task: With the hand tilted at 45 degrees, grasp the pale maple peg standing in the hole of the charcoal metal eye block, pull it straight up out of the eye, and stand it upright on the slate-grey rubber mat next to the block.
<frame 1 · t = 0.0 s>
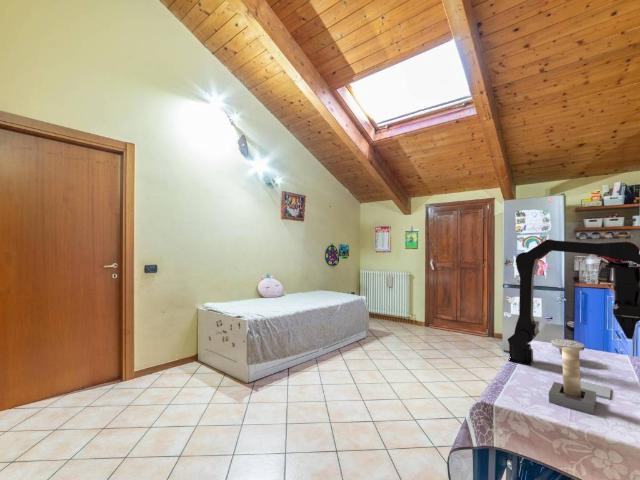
hand: (629, 335, 90), 15 cm above the table, tool pointing down, fingers open, 9 cm apart
eye block: (572, 401, 81), on the table
mat: (591, 389, 87), on the table
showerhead: (567, 360, 110), on the table
peg: (571, 375, 81), in the eye block
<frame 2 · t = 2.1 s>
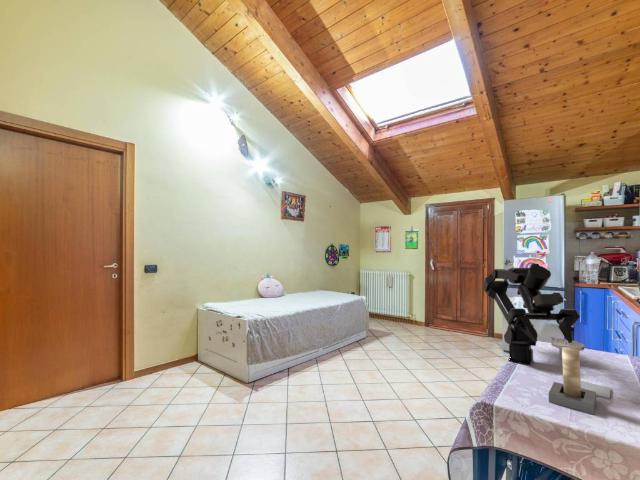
hand: (553, 341, 89), 13 cm above the table, tool tilted 45°, fingers open, 9 cm apart
nothing on the table moved.
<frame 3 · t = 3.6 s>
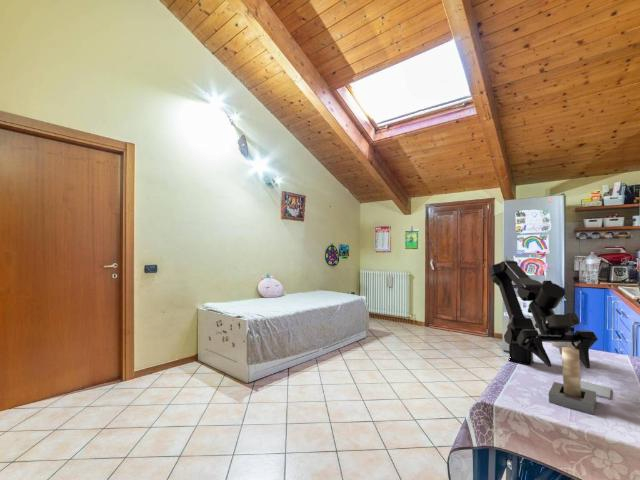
hand: (569, 367, 82), 9 cm above the table, tool tilted 45°, fingers open, 9 cm apart
nothing on the table moved.
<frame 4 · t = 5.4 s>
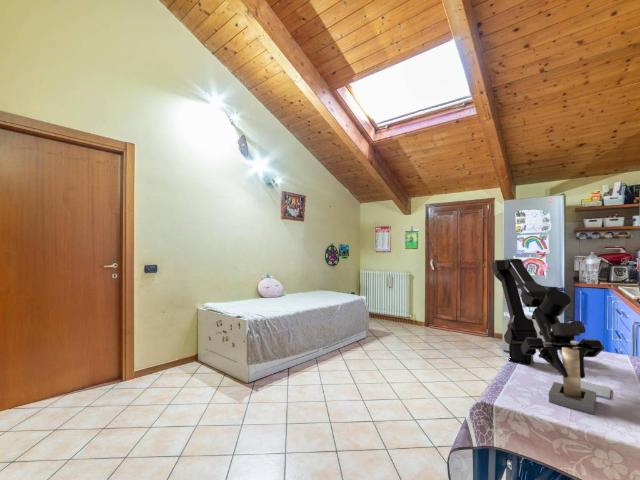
hand: (574, 377, 80), 7 cm above the table, tool tilted 45°, fingers closed on peg, 4 cm apart
peg: (571, 375, 81), in the eye block, touching gripper
everything else where it was.
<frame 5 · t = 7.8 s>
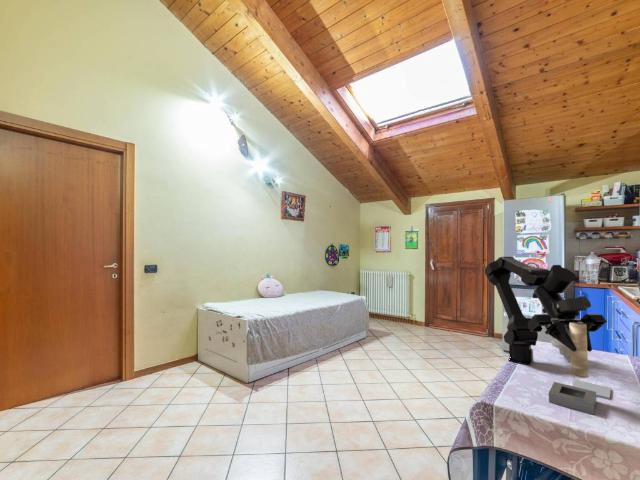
hand: (582, 350, 82), 13 cm above the table, tool tilted 45°, fingers closed on peg, 4 cm apart
peg: (578, 349, 83), point 13 cm above the table, touching gripper
everything else where it was.
when the fingers open (8 cm above the table, at t = 10.6 s): peg stays where it is, resting on mat.
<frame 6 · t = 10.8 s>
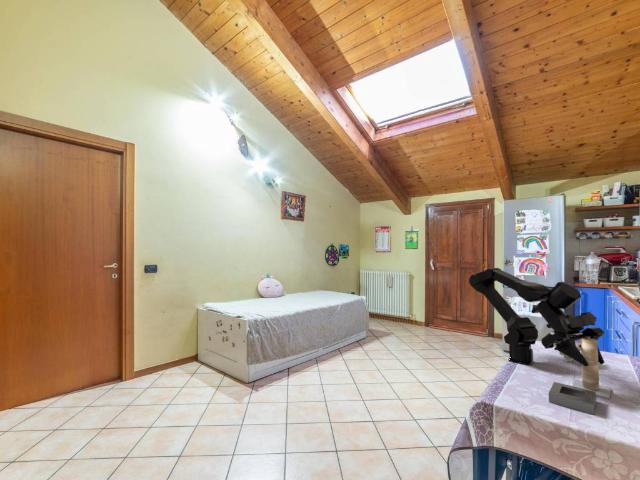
hand: (595, 364, 86), 8 cm above the table, tool tilted 45°, fingers open, 6 cm apart
peg: (589, 363, 88), on the mat
everything else where it was.
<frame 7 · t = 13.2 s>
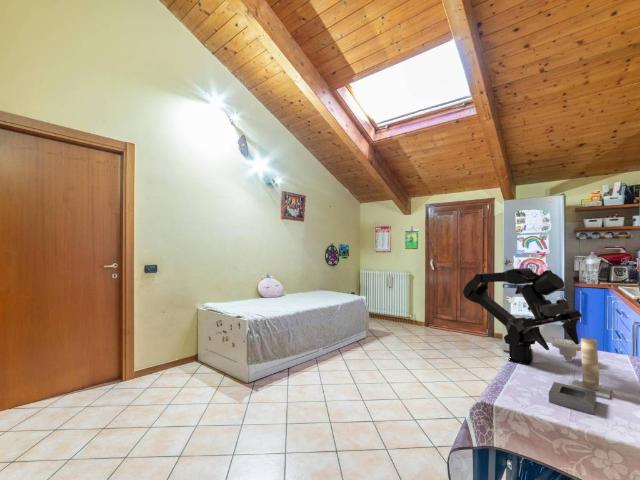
hand: (562, 347, 95), 10 cm above the table, tool tilted 30°, fingers open, 9 cm apart
nothing on the table moved.
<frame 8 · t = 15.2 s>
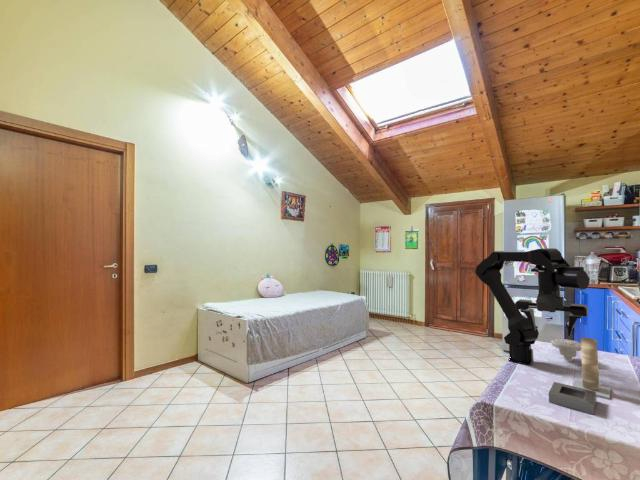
hand: (551, 333, 100), 13 cm above the table, tool pointing down, fingers open, 9 cm apart
nothing on the table moved.
at the end: peg 0.0 cm off-centre on the mat, point 7.5 cm above the mat's base; peg tilted 0°; the gripper is holding nothing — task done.
